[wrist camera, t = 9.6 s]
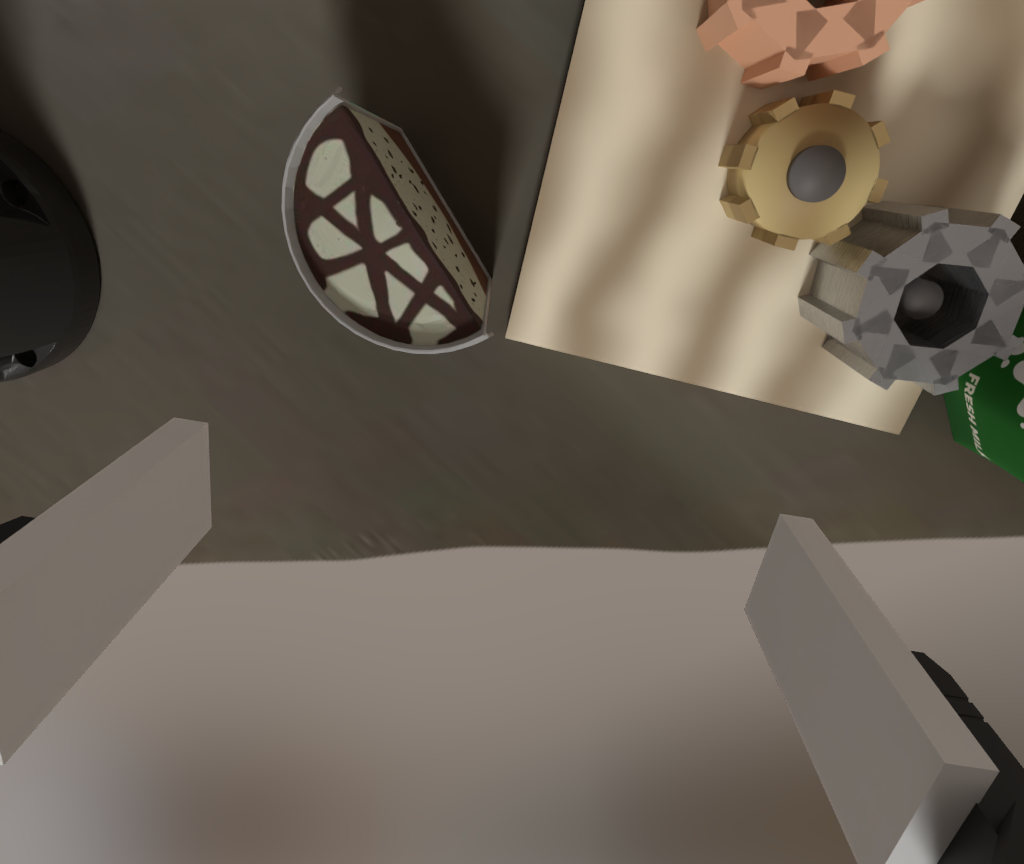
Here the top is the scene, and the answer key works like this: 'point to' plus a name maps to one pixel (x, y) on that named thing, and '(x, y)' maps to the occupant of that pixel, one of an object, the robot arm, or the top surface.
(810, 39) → the planet gear
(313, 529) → the top surface
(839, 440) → the top surface
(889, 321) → the seated gear
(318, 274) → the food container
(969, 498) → the top surface
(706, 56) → the carrier
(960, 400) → the milk carton
